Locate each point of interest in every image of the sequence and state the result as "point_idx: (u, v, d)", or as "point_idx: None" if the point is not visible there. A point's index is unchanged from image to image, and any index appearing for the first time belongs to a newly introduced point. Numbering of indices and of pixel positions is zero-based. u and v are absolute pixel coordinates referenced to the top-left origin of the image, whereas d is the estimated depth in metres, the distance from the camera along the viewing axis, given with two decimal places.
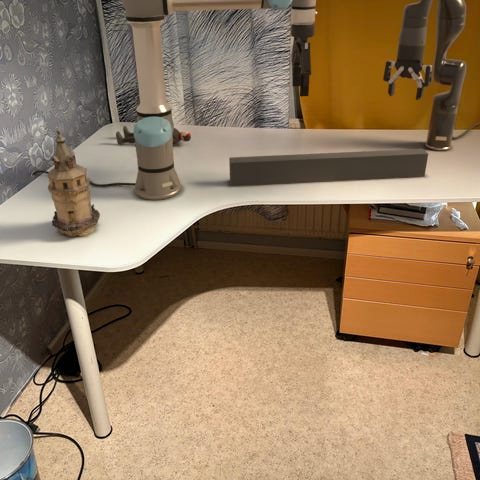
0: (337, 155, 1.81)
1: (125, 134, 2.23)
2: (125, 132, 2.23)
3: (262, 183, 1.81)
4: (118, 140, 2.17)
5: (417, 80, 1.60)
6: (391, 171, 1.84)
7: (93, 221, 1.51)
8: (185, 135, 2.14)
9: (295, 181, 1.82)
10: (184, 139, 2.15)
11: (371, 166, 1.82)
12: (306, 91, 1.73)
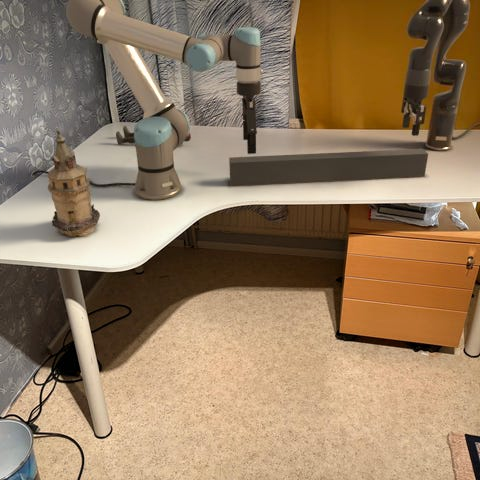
0: (337, 155, 1.81)
1: (125, 134, 2.23)
2: (125, 132, 2.23)
3: (262, 183, 1.81)
4: (118, 140, 2.17)
5: (412, 117, 1.74)
6: (391, 171, 1.84)
7: (93, 221, 1.51)
8: None
9: (295, 181, 1.82)
10: None
11: (371, 166, 1.82)
12: (253, 149, 1.70)
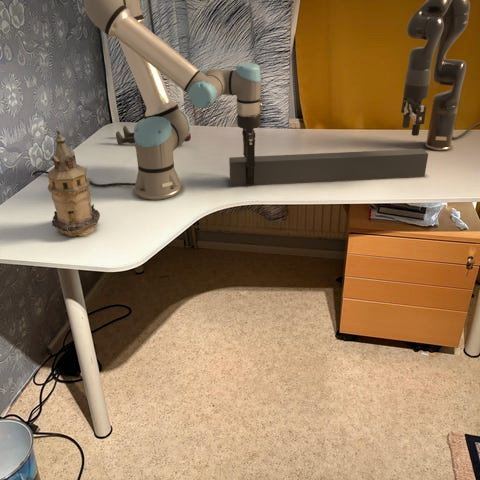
0: (337, 155, 1.81)
1: (125, 134, 2.23)
2: (125, 132, 2.23)
3: (262, 183, 1.81)
4: (118, 140, 2.17)
5: (412, 117, 1.74)
6: (391, 171, 1.84)
7: (93, 221, 1.51)
8: None
9: (295, 181, 1.82)
10: None
11: (371, 166, 1.82)
12: (251, 180, 1.80)
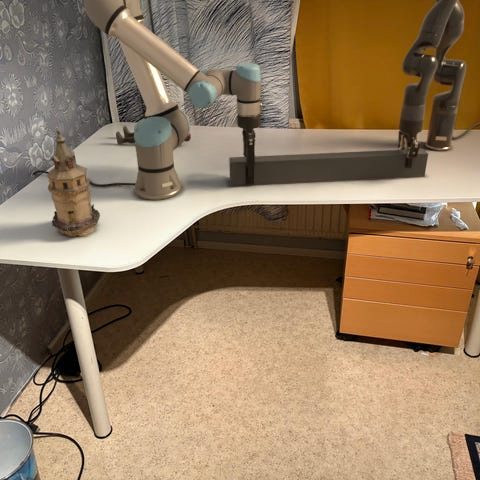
0: (337, 155, 1.81)
1: (125, 134, 2.23)
2: (125, 132, 2.23)
3: (262, 183, 1.81)
4: (118, 140, 2.17)
5: (406, 150, 1.80)
6: (391, 171, 1.84)
7: (93, 221, 1.51)
8: None
9: (295, 181, 1.82)
10: None
11: (371, 166, 1.82)
12: (251, 180, 1.80)
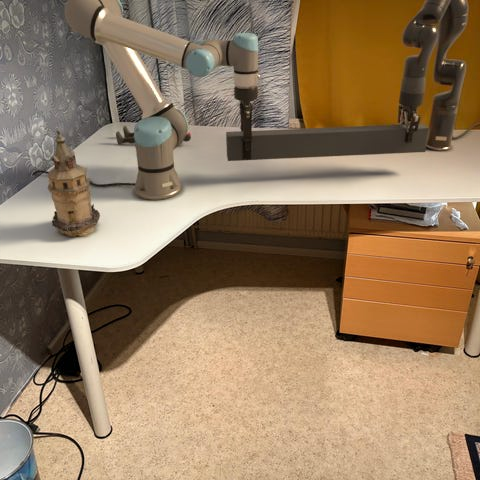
0: (335, 129, 1.78)
1: (125, 134, 2.23)
2: (125, 132, 2.23)
3: (259, 158, 1.78)
4: (118, 140, 2.17)
5: (406, 125, 1.77)
6: (391, 146, 1.81)
7: (93, 221, 1.51)
8: None
9: (293, 156, 1.79)
10: (184, 139, 2.15)
11: (370, 140, 1.79)
12: (248, 155, 1.77)
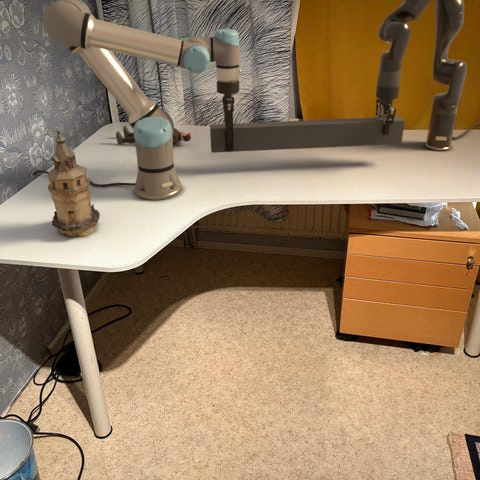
0: (315, 122, 1.86)
1: (125, 134, 2.23)
2: (125, 132, 2.23)
3: (242, 150, 1.85)
4: (118, 140, 2.17)
5: (383, 117, 1.84)
6: (369, 138, 1.88)
7: (93, 221, 1.51)
8: (185, 135, 2.14)
9: (274, 148, 1.86)
10: (184, 139, 2.15)
11: (349, 133, 1.86)
12: (230, 146, 1.84)
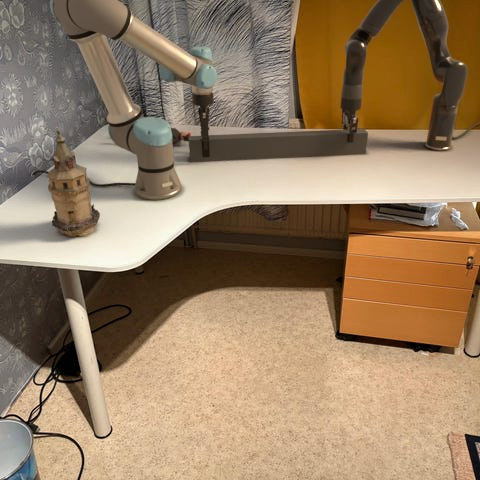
0: (285, 134, 2.02)
1: None
2: None
3: (218, 159, 2.01)
4: None
5: (347, 126, 1.99)
6: (335, 149, 2.04)
7: (93, 221, 1.51)
8: (185, 135, 2.14)
9: (248, 157, 2.02)
10: (184, 139, 2.15)
11: (316, 144, 2.02)
12: (207, 153, 1.97)
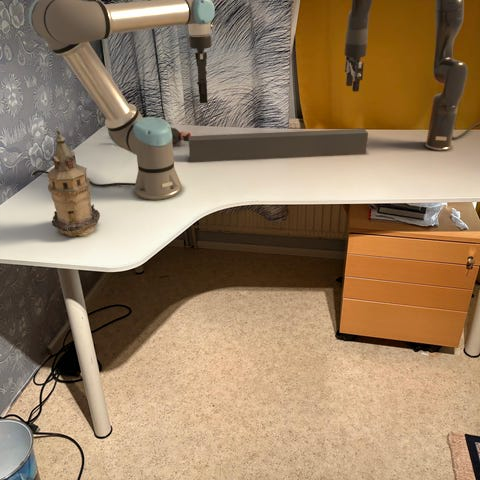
0: (285, 134, 2.02)
1: None
2: None
3: (218, 159, 2.01)
4: None
5: (352, 74, 1.89)
6: (335, 149, 2.04)
7: (93, 221, 1.51)
8: (185, 135, 2.14)
9: (248, 157, 2.02)
10: (184, 139, 2.15)
11: (316, 144, 2.02)
12: (204, 98, 1.85)
